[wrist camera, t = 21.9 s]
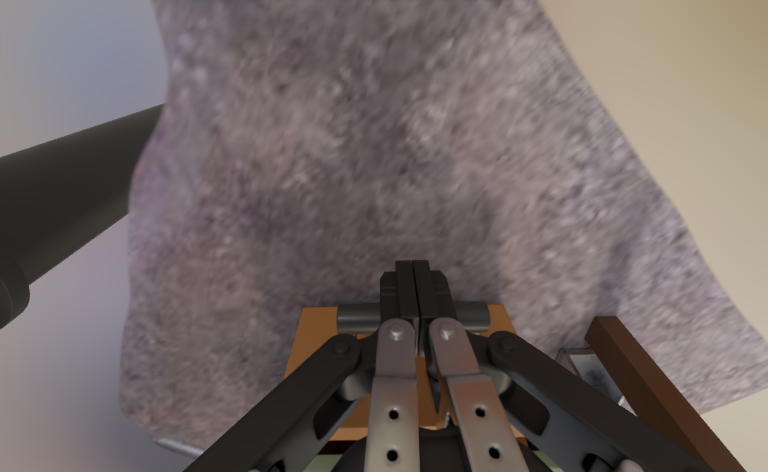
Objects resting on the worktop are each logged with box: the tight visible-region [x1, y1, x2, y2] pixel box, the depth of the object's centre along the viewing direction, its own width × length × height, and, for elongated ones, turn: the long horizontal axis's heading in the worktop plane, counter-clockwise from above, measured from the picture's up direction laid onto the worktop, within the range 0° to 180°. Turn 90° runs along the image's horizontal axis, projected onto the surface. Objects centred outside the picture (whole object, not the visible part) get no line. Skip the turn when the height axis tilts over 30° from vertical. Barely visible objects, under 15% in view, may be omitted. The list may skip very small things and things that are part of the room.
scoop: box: [556, 316, 746, 472], centre depth 20 cm, size 5×8×13 cm, turn 1°
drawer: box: [283, 302, 528, 455], centre depth 21 cm, size 19×13×8 cm
